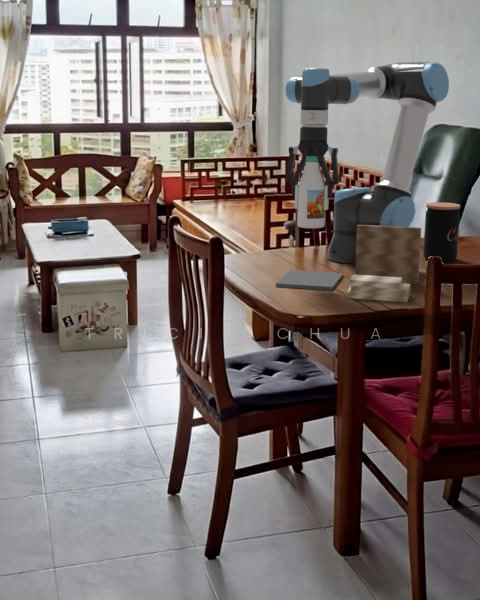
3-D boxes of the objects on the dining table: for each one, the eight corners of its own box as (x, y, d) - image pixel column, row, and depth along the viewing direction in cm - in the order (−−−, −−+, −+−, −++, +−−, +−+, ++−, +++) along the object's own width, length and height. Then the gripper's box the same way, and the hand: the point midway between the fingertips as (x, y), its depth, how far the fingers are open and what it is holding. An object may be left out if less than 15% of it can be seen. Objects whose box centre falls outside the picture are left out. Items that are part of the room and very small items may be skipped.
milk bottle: (295, 228, 235) (297, 156, 231) (298, 224, 243) (300, 154, 238) (323, 229, 234) (325, 156, 229) (325, 225, 242) (327, 154, 237)
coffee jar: (450, 264, 267) (454, 207, 263) (418, 260, 273) (421, 205, 268) (460, 258, 276) (464, 203, 272) (429, 255, 282) (432, 201, 277)
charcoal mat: (275, 286, 236) (275, 283, 236) (290, 273, 253) (290, 270, 253) (332, 290, 232) (332, 287, 232) (342, 276, 249) (343, 273, 249)
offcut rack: (342, 297, 225) (344, 238, 221) (357, 276, 249) (359, 223, 245) (410, 302, 220) (414, 242, 216) (419, 280, 244) (422, 226, 240)
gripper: (274, 125, 231) (272, 208, 237) (348, 127, 226) (345, 212, 231) (280, 124, 238) (279, 205, 244) (353, 126, 233) (349, 208, 238)
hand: (311, 208), depth 237 cm, fingers closed on milk bottle, 8 cm apart
